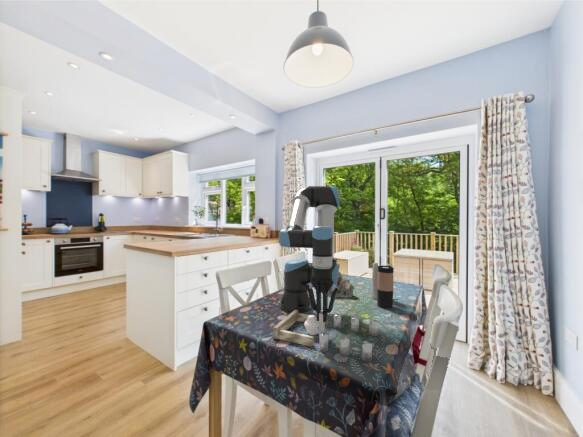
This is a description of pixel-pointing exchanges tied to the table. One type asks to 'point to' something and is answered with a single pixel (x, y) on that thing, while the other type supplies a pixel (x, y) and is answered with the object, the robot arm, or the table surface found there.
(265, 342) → the table surface
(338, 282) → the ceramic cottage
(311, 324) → the grey faceted vase
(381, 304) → the travel mug
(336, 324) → the spacer field
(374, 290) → the candle
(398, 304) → the table surface
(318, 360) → the table surface
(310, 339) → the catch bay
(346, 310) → the table surface
